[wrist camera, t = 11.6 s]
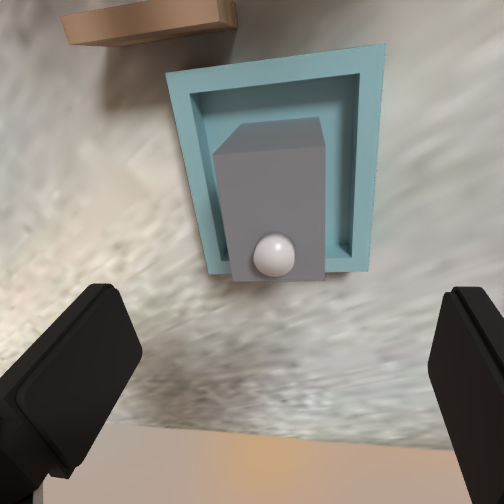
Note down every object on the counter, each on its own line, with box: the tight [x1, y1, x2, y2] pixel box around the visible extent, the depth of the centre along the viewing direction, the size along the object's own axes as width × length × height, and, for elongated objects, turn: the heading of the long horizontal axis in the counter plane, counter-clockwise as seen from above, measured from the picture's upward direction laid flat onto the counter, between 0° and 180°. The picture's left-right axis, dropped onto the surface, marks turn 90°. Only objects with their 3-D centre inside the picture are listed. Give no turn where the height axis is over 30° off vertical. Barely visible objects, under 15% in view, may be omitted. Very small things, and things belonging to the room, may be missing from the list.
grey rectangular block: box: [212, 116, 326, 282], centre depth 19 cm, size 5×7×9 cm
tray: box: [165, 44, 386, 274], centre depth 22 cm, size 12×14×3 cm
